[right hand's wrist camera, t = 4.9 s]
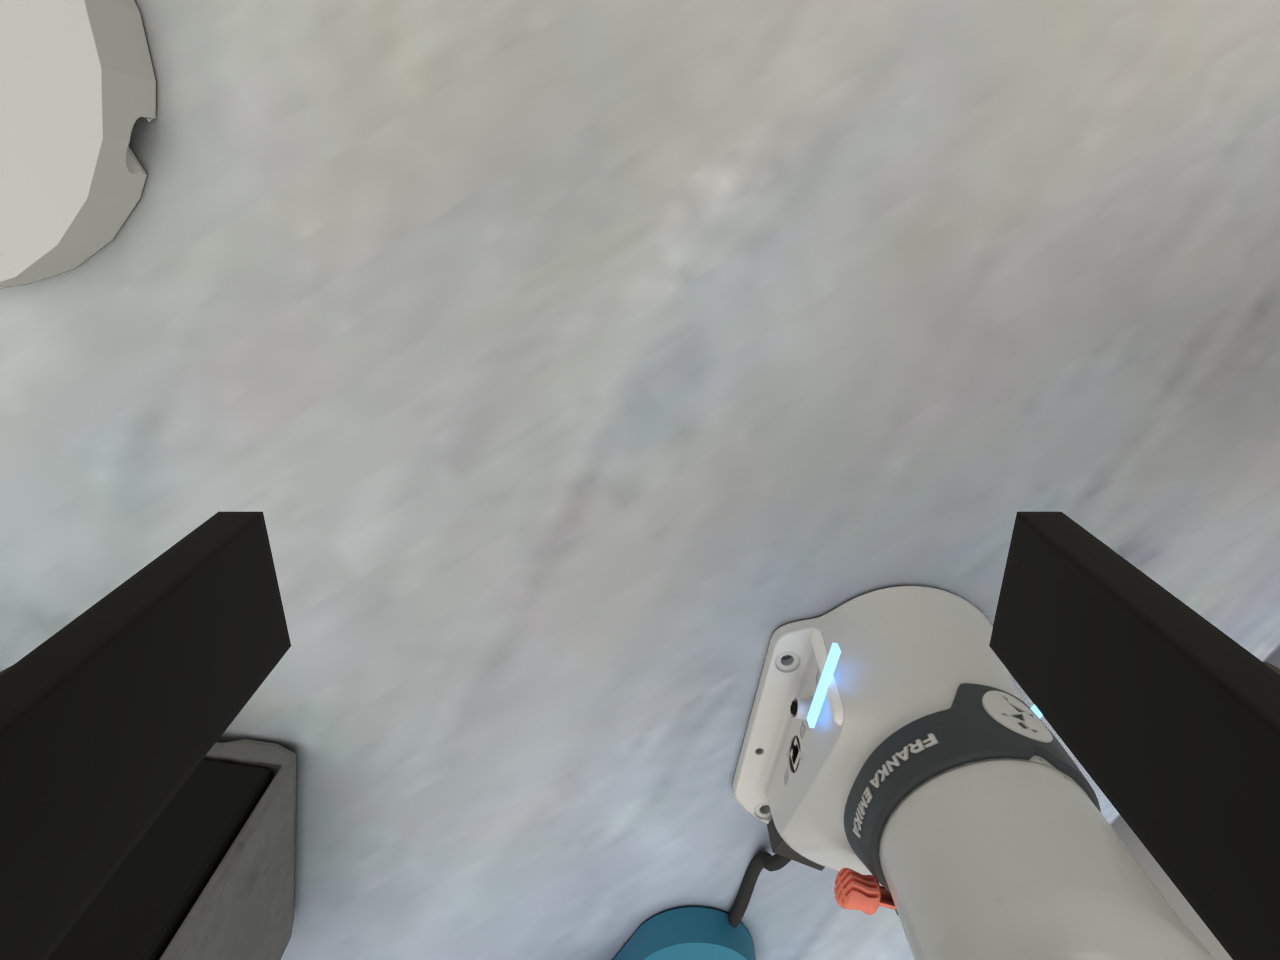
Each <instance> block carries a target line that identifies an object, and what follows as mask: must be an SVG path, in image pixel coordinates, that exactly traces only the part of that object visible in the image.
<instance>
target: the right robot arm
mask: <svg viewBox="0 0 1280 960" xmlns="http://www.w3.org/2000/svg"><path fill="white" fill-rule="evenodd" d="M290 646H291V644H290V639H289V634H288V630H287V625H286V620H285V615H284V611H283V606H282V601H281V596H280V592H279V587H278V582H277V577H276V572H275V568H274V563H273V558H272V553H271V549H270V544H269V539H268V534H267V530H266V525H265V520H264V515H263V512H218V513H217V514H215V515H214V516H212V517H211V518H210V519H208V520H207V521H206V522H204V523H203V524H202V525H200V526H199V527H198V528H196V529H195V530H194V531H192V532H191V533H190V534H188V535H187V536H186V537H184V538H183V539H182V540H180V541H179V542H178V543H176V544H175V545H174V546H172V547H171V548H170V549H168V550H167V551H166V552H164V553H163V554H162V555H160V556H159V557H158V558H156V559H155V560H154V561H152V562H151V563H150V564H148V565H147V566H146V567H144V568H143V569H142V570H140V571H139V572H138V573H136V574H135V575H134V576H132V577H131V578H130V579H128V580H127V581H125V582H124V583H123V584H121V585H120V586H119V587H117V588H116V589H115V590H113V591H112V592H111V593H109V594H108V595H107V596H105V597H104V598H103V599H101V600H100V601H99V602H97V603H96V604H95V605H93V606H92V607H91V608H89V609H88V610H87V611H85V612H84V613H83V614H81V615H80V616H79V617H77V618H76V619H75V620H73V621H72V622H71V623H69V624H68V625H67V626H65V627H64V628H63V629H61V630H60V631H59V632H57V633H56V634H55V635H53V636H52V637H51V638H49V639H48V640H47V641H45V642H44V643H43V644H41V645H40V646H38V647H37V648H36V649H34V650H33V651H32V652H30V653H29V654H28V655H26V656H25V657H24V658H22V659H21V660H20V661H18V662H17V663H16V664H14V665H13V666H11V667H9V668H7V669H5V670H3V671H1V672H0V960H47V959H48V958H49V956H50V955H51V954H52V952H53V951H54V950H55V949H56V947H57V946H58V945H59V943H60V942H61V941H62V940H63V938H64V937H65V936H66V934H67V933H68V932H69V931H70V929H71V928H72V927H73V925H74V924H75V923H76V922H77V920H78V919H79V918H80V916H81V915H82V914H83V913H84V911H85V910H86V909H87V907H88V906H89V905H90V904H91V902H92V901H93V900H94V898H95V897H96V896H97V895H98V893H99V892H100V891H101V889H102V888H103V887H104V886H105V884H106V883H107V882H108V880H109V879H110V878H111V877H112V875H113V874H114V873H115V871H116V870H117V869H118V868H119V866H120V865H121V864H122V862H123V861H124V860H125V859H126V857H127V856H128V855H129V853H130V852H131V851H132V850H133V848H134V847H135V846H136V844H137V843H138V842H139V841H140V839H141V838H142V837H143V835H144V834H145V833H146V832H147V830H148V829H149V828H150V826H151V825H152V824H153V823H154V821H155V820H156V819H157V817H158V816H159V815H160V814H161V812H162V811H163V810H164V808H165V807H166V806H167V805H168V803H169V802H170V801H171V799H172V798H173V797H174V796H175V794H176V793H177V792H178V790H179V789H180V788H181V787H182V785H183V784H184V783H185V781H186V780H187V779H188V778H189V776H190V775H191V774H192V772H193V771H194V770H195V769H196V767H197V766H198V765H199V763H200V762H201V761H202V760H203V758H204V757H205V756H206V754H207V753H208V752H209V751H210V749H211V748H212V747H213V745H214V744H215V743H216V742H217V740H218V739H219V738H220V736H221V735H222V734H223V733H224V731H225V730H226V729H227V727H228V726H229V725H230V724H231V722H232V721H233V720H234V718H235V717H236V716H237V715H238V713H239V712H240V711H241V709H242V708H243V707H244V706H245V704H246V703H247V702H248V700H249V699H250V698H251V697H252V695H253V694H254V693H255V691H256V690H257V689H258V688H259V686H260V685H261V684H262V682H263V681H264V680H265V679H266V677H267V676H268V675H269V673H270V672H271V671H272V670H273V668H274V667H275V666H276V664H277V663H278V662H279V661H280V659H281V658H282V657H283V655H284V654H285V653H286V652H287V650H288V649H289V648H290ZM989 646H990V648H991V649H992V650H993V652H994V653H995V654H996V655H997V657H998V658H999V659H1000V661H1001V662H1002V663H1003V664H1004V666H1005V667H1006V668H1007V670H1008V671H1009V672H1010V673H1011V675H1012V676H1013V677H1014V679H1015V680H1016V681H1017V682H1018V684H1019V685H1020V686H1021V688H1022V689H1023V690H1024V691H1025V693H1026V694H1027V695H1028V697H1029V698H1030V699H1031V700H1032V702H1033V703H1034V704H1035V706H1036V707H1037V708H1038V709H1039V711H1040V712H1041V713H1042V715H1043V716H1044V717H1045V718H1046V720H1047V721H1048V722H1049V724H1050V725H1051V726H1052V727H1053V729H1054V730H1055V731H1056V733H1057V734H1058V735H1059V736H1060V738H1061V739H1062V740H1063V742H1064V743H1065V744H1066V745H1067V747H1068V748H1069V749H1070V751H1071V752H1072V753H1073V754H1074V756H1075V757H1076V758H1077V760H1078V761H1079V762H1080V763H1081V765H1082V766H1083V767H1084V769H1085V770H1086V771H1087V772H1088V774H1089V775H1090V776H1091V778H1092V779H1093V780H1094V781H1095V783H1096V784H1097V785H1098V787H1099V788H1100V789H1101V790H1102V792H1103V793H1104V794H1105V796H1106V797H1107V798H1108V799H1109V801H1110V802H1111V803H1112V805H1113V806H1114V807H1115V808H1116V810H1117V811H1118V812H1119V814H1120V815H1121V816H1122V817H1123V819H1124V820H1125V821H1126V823H1127V824H1128V825H1129V826H1130V828H1131V829H1132V830H1133V832H1134V833H1135V834H1136V835H1137V837H1138V838H1139V839H1140V841H1141V842H1142V843H1143V844H1144V846H1145V847H1146V848H1147V850H1148V851H1149V852H1150V853H1151V855H1152V856H1153V857H1154V859H1155V860H1156V861H1157V862H1158V864H1159V865H1160V866H1161V868H1162V869H1163V870H1164V871H1165V873H1166V874H1167V875H1168V877H1169V878H1170V879H1171V880H1172V882H1173V883H1174V884H1175V886H1176V887H1177V888H1178V889H1179V891H1180V892H1181V893H1182V895H1183V896H1184V897H1185V898H1186V900H1187V901H1188V902H1189V904H1190V905H1191V906H1192V907H1193V909H1194V910H1195V911H1196V913H1197V914H1198V915H1199V916H1200V918H1201V919H1202V920H1203V922H1204V923H1205V924H1206V925H1207V927H1208V928H1209V929H1210V931H1211V932H1212V933H1213V934H1214V936H1215V937H1216V938H1217V940H1218V941H1219V942H1220V943H1221V945H1222V946H1223V947H1224V949H1225V950H1226V951H1227V952H1228V954H1229V955H1230V956H1231V958H1232V959H1233V960H1280V669H1279V668H1277V667H1275V666H1273V665H1271V664H1269V663H1267V662H1262V661H1260V660H1259V659H1258V658H1256V657H1255V656H1254V655H1252V654H1251V653H1250V652H1248V651H1247V650H1246V649H1244V648H1243V647H1242V646H1240V645H1239V644H1237V643H1236V642H1235V641H1233V640H1232V639H1231V638H1229V637H1228V636H1227V635H1225V634H1224V633H1223V632H1221V631H1220V630H1219V629H1217V628H1216V627H1215V626H1213V625H1212V624H1211V623H1209V622H1208V621H1207V620H1205V619H1204V618H1203V617H1201V616H1200V615H1199V614H1197V613H1196V612H1195V611H1193V610H1192V609H1191V608H1189V607H1188V606H1187V605H1185V604H1184V603H1183V602H1181V601H1180V600H1179V599H1177V598H1176V597H1175V596H1173V595H1172V594H1171V593H1169V592H1168V591H1167V590H1165V589H1164V588H1163V587H1161V586H1160V585H1159V584H1157V583H1156V582H1155V581H1153V580H1152V579H1150V578H1149V577H1148V576H1146V575H1145V574H1144V573H1142V572H1141V571H1140V570H1138V569H1137V568H1136V567H1134V566H1133V565H1132V564H1130V563H1129V562H1128V561H1126V560H1125V559H1124V558H1122V557H1121V556H1120V555H1118V554H1117V553H1116V552H1114V551H1113V550H1112V549H1110V548H1109V547H1108V546H1106V545H1105V544H1104V543H1102V542H1101V541H1100V540H1098V539H1097V538H1096V537H1094V536H1093V535H1092V534H1090V533H1089V532H1088V531H1086V530H1085V529H1084V528H1082V527H1081V526H1080V525H1078V524H1077V523H1076V522H1074V521H1073V520H1072V519H1070V518H1069V517H1068V516H1066V515H1065V514H1063V513H1062V512H1017V515H1016V520H1015V525H1014V530H1013V534H1012V539H1011V544H1010V549H1009V553H1008V558H1007V563H1006V568H1005V572H1004V577H1003V582H1002V587H1001V592H1000V596H999V601H998V606H997V611H996V615H995V620H994V625H993V630H992V634H991V639H990V644H989Z"/></svg>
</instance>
